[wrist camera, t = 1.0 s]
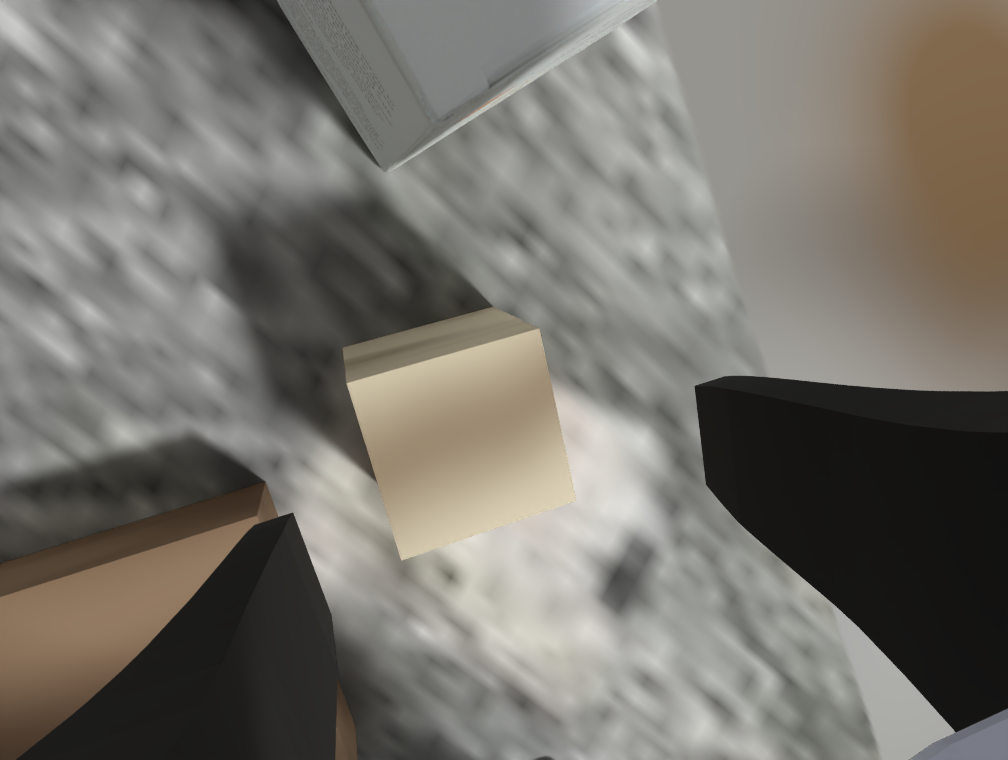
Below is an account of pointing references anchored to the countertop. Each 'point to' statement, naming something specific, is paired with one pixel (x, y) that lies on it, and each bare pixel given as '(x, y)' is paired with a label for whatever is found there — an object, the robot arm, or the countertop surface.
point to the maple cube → (459, 427)
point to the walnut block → (111, 610)
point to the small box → (440, 58)
